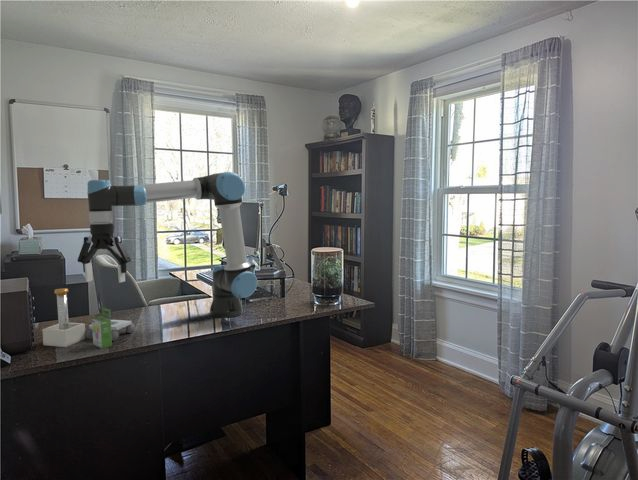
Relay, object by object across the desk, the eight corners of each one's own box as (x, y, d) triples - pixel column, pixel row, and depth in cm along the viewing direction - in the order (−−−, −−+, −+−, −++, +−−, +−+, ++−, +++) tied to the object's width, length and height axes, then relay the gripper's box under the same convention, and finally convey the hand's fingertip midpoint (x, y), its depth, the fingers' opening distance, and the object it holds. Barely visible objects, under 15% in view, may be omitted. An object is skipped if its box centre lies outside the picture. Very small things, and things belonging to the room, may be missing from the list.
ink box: (92, 345, 160) (90, 308, 158) (103, 342, 163) (102, 306, 162) (101, 349, 155) (99, 311, 154) (112, 346, 158) (110, 309, 157)
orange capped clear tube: (74, 338, 165) (71, 288, 163) (65, 342, 160) (62, 290, 159) (64, 338, 165) (60, 288, 164) (55, 342, 161) (51, 290, 160)
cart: (135, 331, 176) (135, 319, 176) (112, 342, 163) (112, 328, 162) (109, 329, 179) (108, 317, 178) (84, 340, 165) (84, 327, 165)
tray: (85, 339, 167) (84, 323, 166) (66, 347, 157) (65, 330, 157) (63, 337, 169) (63, 322, 168) (43, 345, 159) (42, 329, 159)
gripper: (139, 222, 158) (142, 280, 160) (79, 222, 163) (83, 279, 166) (125, 223, 151) (129, 284, 153) (63, 224, 156) (68, 282, 158)
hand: (105, 281), depth 159 cm, fingers open, 13 cm apart
